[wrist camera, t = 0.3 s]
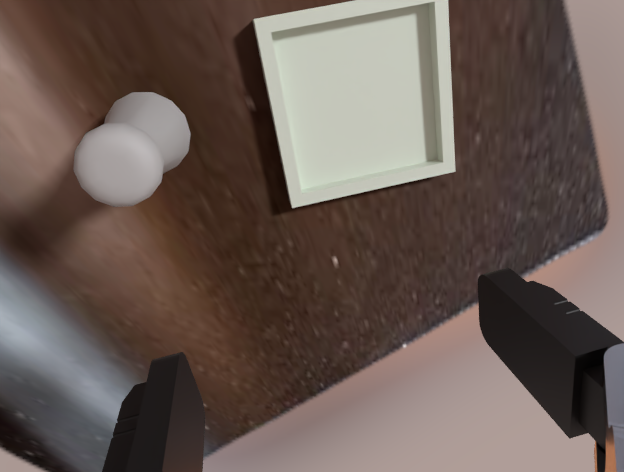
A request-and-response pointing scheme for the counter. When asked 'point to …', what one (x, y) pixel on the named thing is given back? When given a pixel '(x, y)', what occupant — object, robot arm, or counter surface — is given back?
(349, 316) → the counter surface
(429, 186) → the counter surface
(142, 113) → the salt shaker
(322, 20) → the tray
